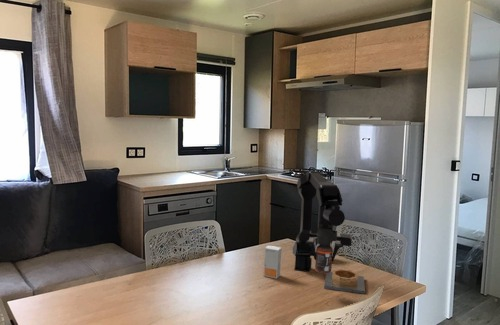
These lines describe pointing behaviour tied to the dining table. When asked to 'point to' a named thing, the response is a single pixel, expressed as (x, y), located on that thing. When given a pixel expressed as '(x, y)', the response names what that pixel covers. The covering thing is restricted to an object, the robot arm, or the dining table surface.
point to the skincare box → (272, 261)
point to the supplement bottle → (323, 258)
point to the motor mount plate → (345, 281)
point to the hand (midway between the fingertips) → (323, 260)
